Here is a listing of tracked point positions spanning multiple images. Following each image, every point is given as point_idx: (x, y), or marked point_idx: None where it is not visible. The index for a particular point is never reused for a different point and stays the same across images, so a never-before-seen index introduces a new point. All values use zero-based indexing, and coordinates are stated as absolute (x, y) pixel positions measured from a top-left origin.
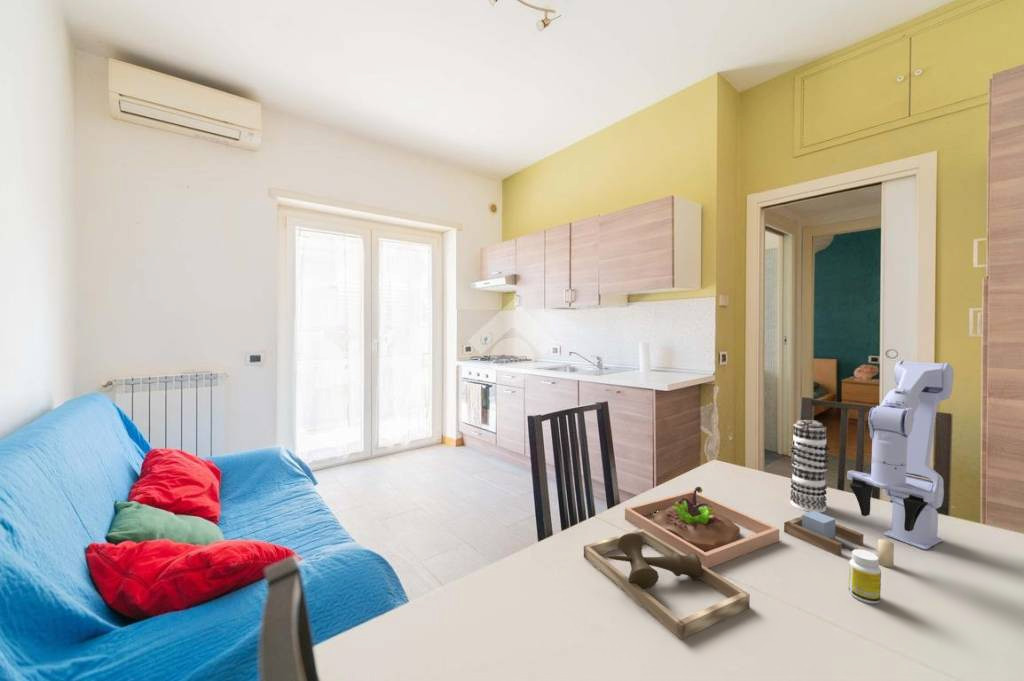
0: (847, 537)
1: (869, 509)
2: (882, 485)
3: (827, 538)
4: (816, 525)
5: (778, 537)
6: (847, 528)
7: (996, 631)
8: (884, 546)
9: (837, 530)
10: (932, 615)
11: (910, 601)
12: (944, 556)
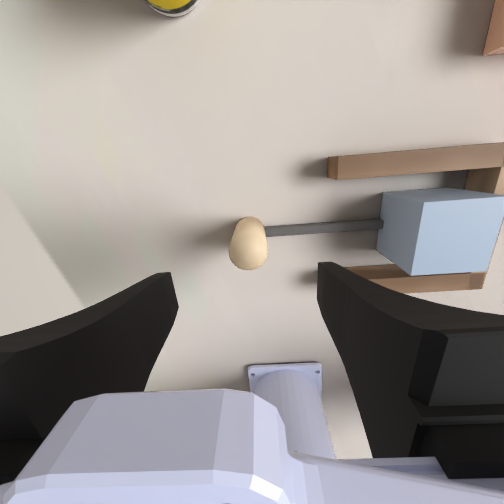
0: (356, 270)
1: (324, 313)
2: (36, 465)
3: (378, 169)
4: (436, 197)
5: (497, 43)
6: None
7: (9, 156)
8: (243, 232)
9: (385, 272)
10: (69, 78)
11: (123, 95)
12: (221, 370)
